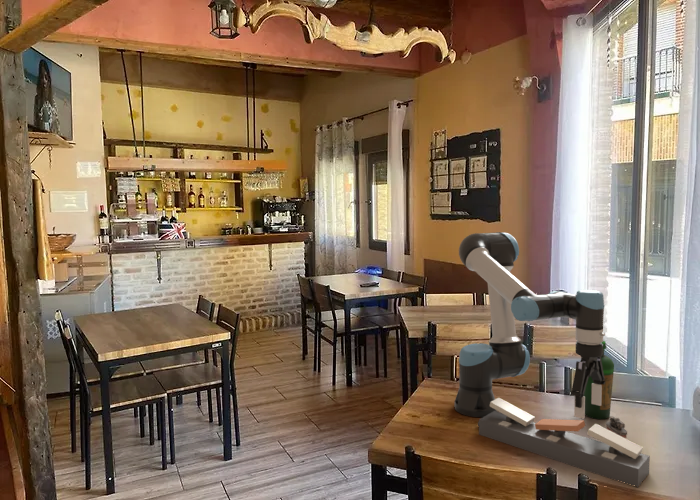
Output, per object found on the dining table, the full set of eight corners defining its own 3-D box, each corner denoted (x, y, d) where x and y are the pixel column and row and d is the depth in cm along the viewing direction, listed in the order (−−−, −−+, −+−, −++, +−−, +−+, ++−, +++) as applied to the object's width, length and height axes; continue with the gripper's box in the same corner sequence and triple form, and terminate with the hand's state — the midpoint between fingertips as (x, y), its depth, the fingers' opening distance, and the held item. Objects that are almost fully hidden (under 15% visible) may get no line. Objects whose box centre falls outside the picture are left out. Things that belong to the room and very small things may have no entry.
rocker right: (587, 434, 147) (588, 429, 147) (594, 428, 151) (595, 423, 150) (635, 459, 138) (637, 454, 138) (641, 452, 142) (643, 447, 142)
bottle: (617, 422, 175) (619, 341, 173) (583, 420, 178) (585, 340, 175) (608, 410, 186) (610, 334, 184) (576, 408, 188) (578, 333, 186)
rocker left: (489, 406, 169) (490, 401, 168) (497, 401, 173) (498, 397, 172) (525, 426, 160) (527, 421, 160) (533, 421, 164) (534, 416, 164)
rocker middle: (536, 429, 158) (534, 424, 158) (543, 424, 162) (542, 418, 162) (578, 431, 149) (576, 425, 149) (585, 425, 153) (584, 420, 153)
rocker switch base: (470, 431, 170) (470, 412, 169) (486, 422, 177) (486, 403, 176) (637, 487, 135) (638, 462, 134) (649, 473, 142) (649, 449, 141)
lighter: (602, 445, 159) (603, 413, 158) (613, 444, 159) (614, 413, 158) (618, 457, 151) (619, 424, 150) (629, 457, 151) (630, 424, 150)
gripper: (586, 352, 143) (585, 426, 145) (616, 336, 161) (615, 402, 162) (559, 347, 148) (558, 419, 150) (591, 332, 166) (590, 396, 168)
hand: (588, 410), depth 156 cm, fingers open, 13 cm apart
